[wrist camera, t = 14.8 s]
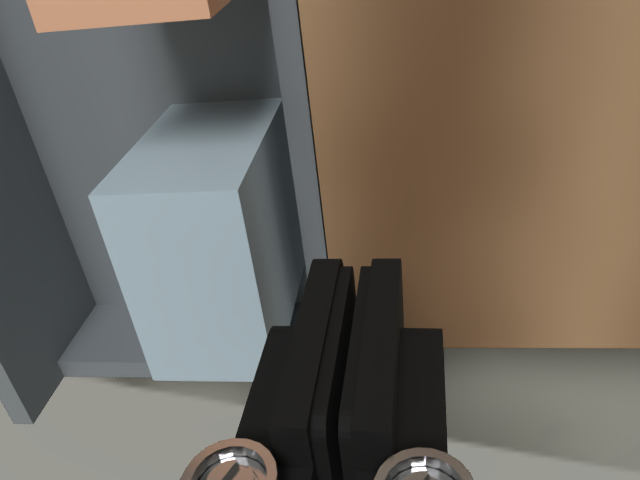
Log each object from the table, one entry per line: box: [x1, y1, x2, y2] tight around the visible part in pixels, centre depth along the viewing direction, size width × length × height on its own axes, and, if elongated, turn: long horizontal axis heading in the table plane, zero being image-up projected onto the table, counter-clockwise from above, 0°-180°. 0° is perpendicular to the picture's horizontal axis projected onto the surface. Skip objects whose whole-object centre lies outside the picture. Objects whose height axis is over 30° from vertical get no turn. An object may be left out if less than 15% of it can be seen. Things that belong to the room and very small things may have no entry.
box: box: [0, 0, 328, 424], centre depth 13 cm, size 9×18×5 cm, turn 6°
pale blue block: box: [88, 98, 305, 382], centre depth 15 cm, size 5×5×3 cm
